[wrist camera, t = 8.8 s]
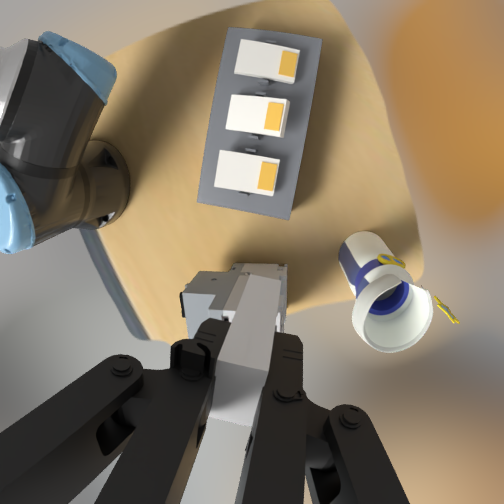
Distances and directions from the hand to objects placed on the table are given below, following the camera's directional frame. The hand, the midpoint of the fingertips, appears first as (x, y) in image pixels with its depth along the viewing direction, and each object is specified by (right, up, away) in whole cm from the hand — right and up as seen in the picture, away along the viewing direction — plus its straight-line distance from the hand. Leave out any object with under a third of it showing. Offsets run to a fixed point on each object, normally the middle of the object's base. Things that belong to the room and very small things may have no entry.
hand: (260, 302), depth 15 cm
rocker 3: (-1, +12, +21) cm, 24 cm away
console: (+1, +21, +25) cm, 33 cm away
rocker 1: (+1, +25, +16) cm, 29 cm away
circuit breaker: (-2, -3, +34) cm, 34 cm away
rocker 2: (0, +18, +18) cm, 26 cm away
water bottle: (+16, +2, +29) cm, 34 cm away
